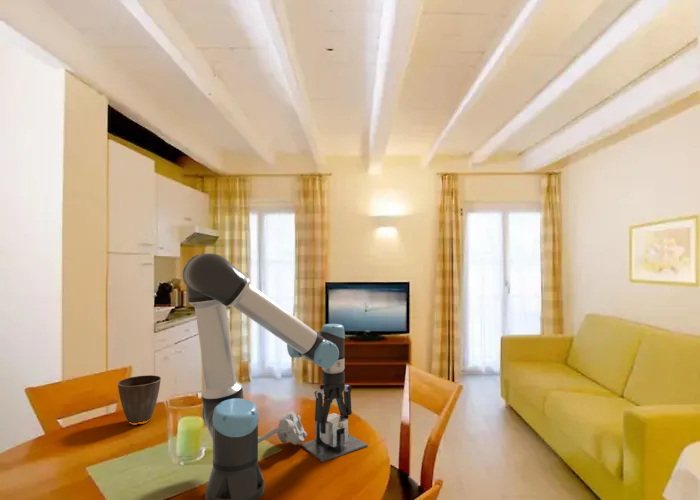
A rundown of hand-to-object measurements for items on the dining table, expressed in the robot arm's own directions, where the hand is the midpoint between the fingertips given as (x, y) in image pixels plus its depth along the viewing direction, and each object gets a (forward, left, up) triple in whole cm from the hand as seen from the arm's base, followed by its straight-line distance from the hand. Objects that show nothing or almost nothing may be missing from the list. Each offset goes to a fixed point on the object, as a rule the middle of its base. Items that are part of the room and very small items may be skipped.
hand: (333, 439), depth 139 cm
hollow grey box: (0, 0, 0) cm, 0 cm away
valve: (-16, +10, -2) cm, 19 cm away
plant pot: (-49, +62, -2) cm, 79 cm away
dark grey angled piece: (0, 0, -2) cm, 2 cm away
